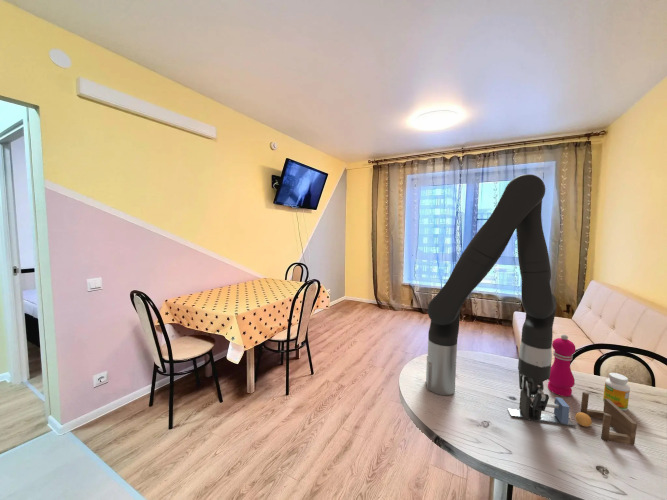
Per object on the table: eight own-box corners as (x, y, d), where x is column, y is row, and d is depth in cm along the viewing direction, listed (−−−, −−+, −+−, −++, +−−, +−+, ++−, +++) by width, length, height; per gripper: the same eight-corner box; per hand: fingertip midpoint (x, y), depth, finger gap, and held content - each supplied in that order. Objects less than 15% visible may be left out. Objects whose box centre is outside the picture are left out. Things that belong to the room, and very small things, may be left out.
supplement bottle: (599, 402, 87) (602, 373, 86) (608, 397, 89) (611, 369, 88) (622, 413, 82) (626, 382, 81) (630, 408, 84) (634, 378, 83)
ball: (579, 428, 76) (580, 416, 76) (571, 419, 79) (572, 408, 79) (594, 430, 75) (595, 419, 75) (586, 421, 78) (587, 410, 78)
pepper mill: (578, 399, 88) (585, 340, 86) (553, 396, 90) (558, 338, 87) (564, 385, 95) (570, 331, 93) (541, 383, 97) (546, 329, 94)
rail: (511, 417, 80) (511, 415, 80) (507, 410, 83) (507, 408, 83) (575, 427, 76) (575, 425, 76) (569, 419, 79) (569, 417, 79)
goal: (603, 440, 72) (606, 416, 71) (579, 413, 82) (581, 391, 81) (634, 445, 70) (638, 421, 69) (606, 417, 80) (608, 395, 79)
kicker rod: (524, 417, 79) (526, 398, 78) (519, 408, 83) (520, 389, 82) (567, 424, 76) (569, 404, 76) (560, 414, 80) (561, 395, 79)
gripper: (510, 345, 86) (506, 396, 88) (530, 369, 72) (525, 428, 74) (538, 348, 84) (533, 399, 86) (563, 373, 71) (557, 434, 73)
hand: (529, 412), depth 80 cm, fingers closed on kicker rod, 4 cm apart
